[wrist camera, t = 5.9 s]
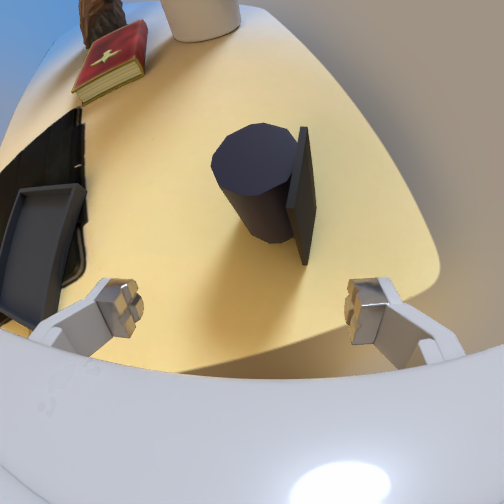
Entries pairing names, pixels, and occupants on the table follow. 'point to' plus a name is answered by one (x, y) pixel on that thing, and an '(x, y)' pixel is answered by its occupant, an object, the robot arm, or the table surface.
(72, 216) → the shallow rimmed tray
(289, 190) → the speaker
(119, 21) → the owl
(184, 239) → the table surface
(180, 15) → the cylinder vase
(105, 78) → the hardcover book
